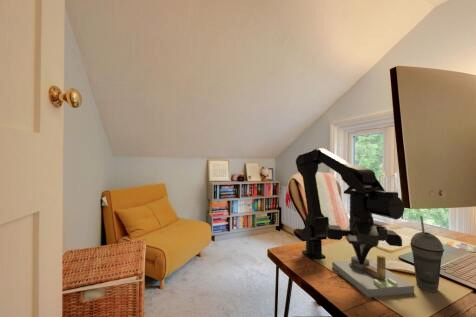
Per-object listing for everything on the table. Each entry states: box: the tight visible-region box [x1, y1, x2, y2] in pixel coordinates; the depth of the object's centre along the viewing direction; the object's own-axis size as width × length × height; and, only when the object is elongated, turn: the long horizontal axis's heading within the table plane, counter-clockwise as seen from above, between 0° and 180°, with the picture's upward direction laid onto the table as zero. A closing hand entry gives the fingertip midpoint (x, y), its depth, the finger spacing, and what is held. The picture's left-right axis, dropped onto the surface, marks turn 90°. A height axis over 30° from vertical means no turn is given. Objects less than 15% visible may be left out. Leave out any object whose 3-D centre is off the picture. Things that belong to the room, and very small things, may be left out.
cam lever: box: [350, 254, 386, 280], centre depth 64 cm, size 10×5×6 cm, turn 18°
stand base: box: [331, 258, 415, 298], centre depth 64 cm, size 16×14×3 cm
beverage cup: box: [409, 216, 445, 293], centre depth 60 cm, size 7×7×20 cm
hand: (360, 264), depth 61 cm, fingers closed
